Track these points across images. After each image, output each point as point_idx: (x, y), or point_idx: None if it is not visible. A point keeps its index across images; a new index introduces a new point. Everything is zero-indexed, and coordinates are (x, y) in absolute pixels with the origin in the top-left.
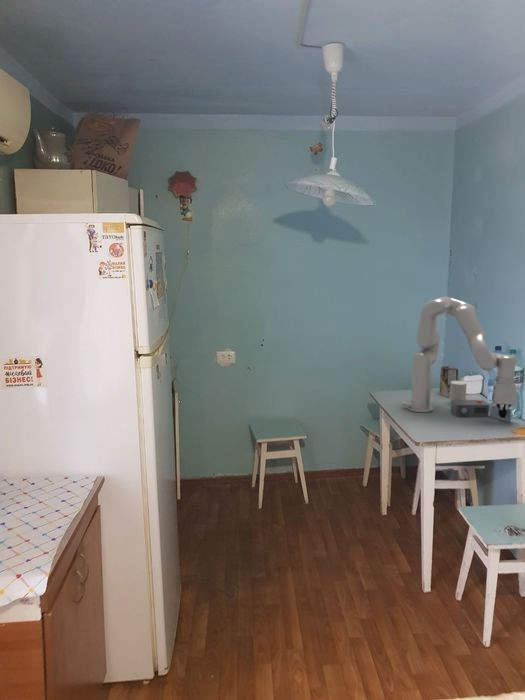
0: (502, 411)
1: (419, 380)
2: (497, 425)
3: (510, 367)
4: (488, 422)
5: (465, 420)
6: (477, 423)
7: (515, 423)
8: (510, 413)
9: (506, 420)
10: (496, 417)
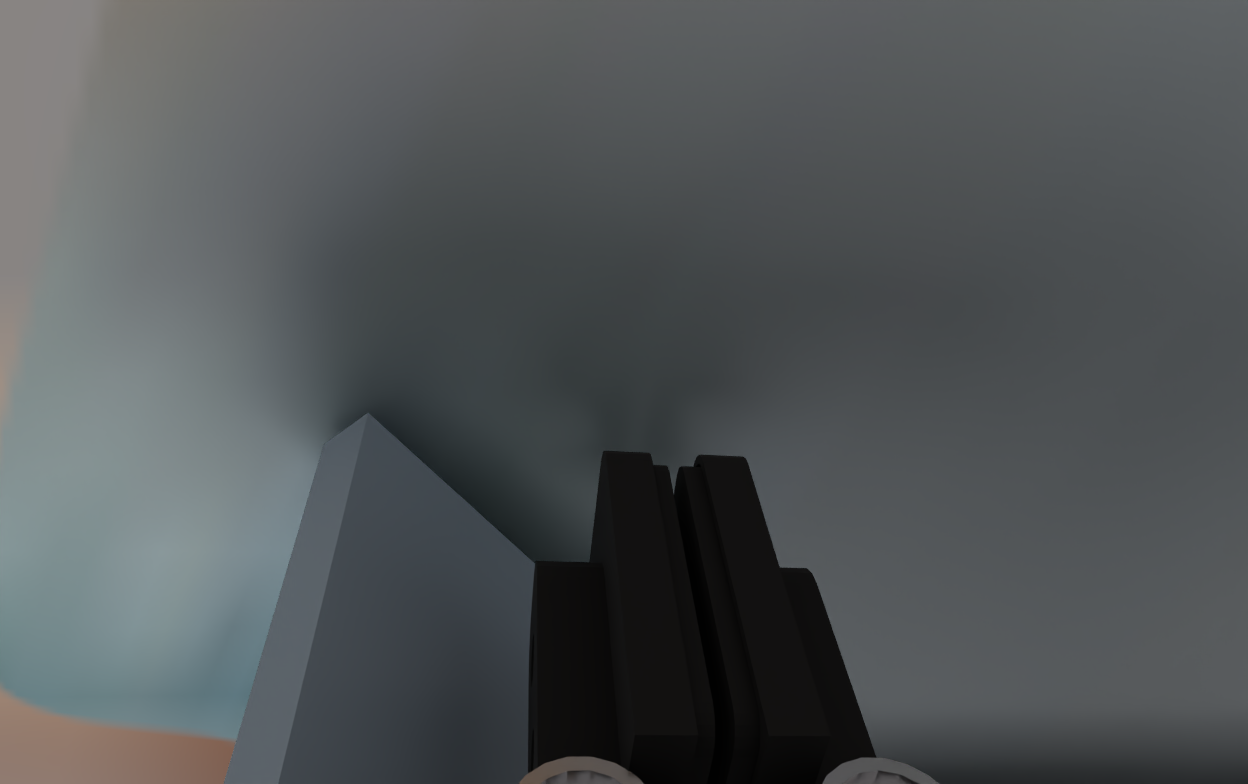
0: (802, 670)
1: None
2: (1030, 62)
3: None
4: (1107, 386)
5: None
6: None
7: (205, 262)
8: (313, 646)
9: (454, 493)
10: None
